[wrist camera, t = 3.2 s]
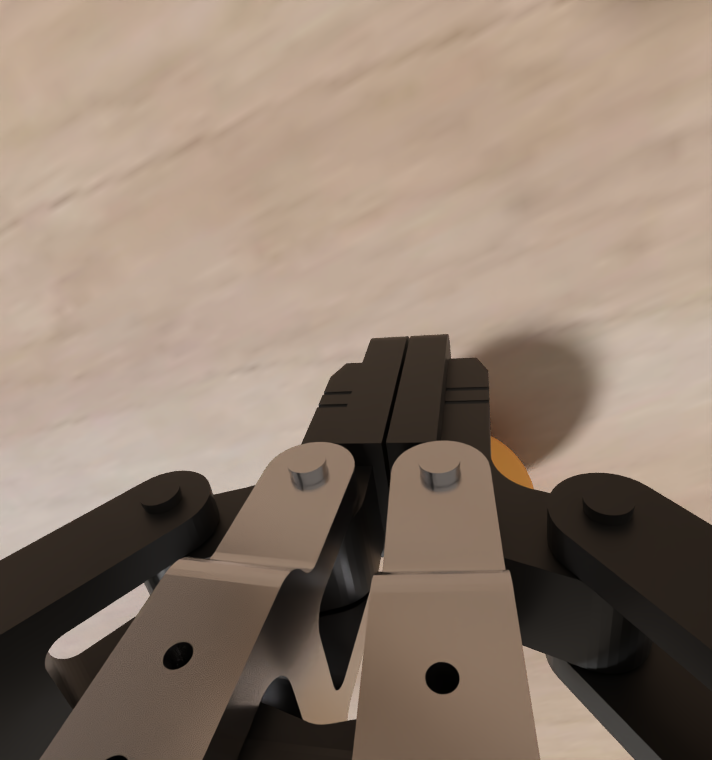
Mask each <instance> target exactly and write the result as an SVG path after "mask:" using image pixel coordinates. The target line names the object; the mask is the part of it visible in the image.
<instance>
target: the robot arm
mask: <svg viewBox="0 0 712 760" xmlns="http://www.w3.org/2000/svg"><path fill="white" fill-rule="evenodd" d="M381 557H384V560H383V570H382V572H378V570H379V565H380V560H381ZM142 583H145V586H146V588H147V590H148V592H149V594H150V597H149V598H148V600H147V601H146V603H145V604H144V606H143V607H142V608H141V610H140V611H139V613H138V614H137V616H136V617H134V618H133V619H131V620H130V621H128V622H127V623H125V624H124V625H122V626H121V627H119V628H118V629H116V630H115V631H113V632H112V633H110V634H109V635H107V636H106V637H104V638H103V639H101V640H100V641H98V642H97V643H95V644H94V645H92V646H91V647H89V648H88V649H87V650H85V651H84V652H82V653H80V654H79V655H77V656H74V657H72V658H68V659H57V658H54V657H52V656H51V655H50V654H49V652H48V651H49V649H50V648H51V646H52V645H53V644H54V642H55V641H56V640H57V639H58V638H60V637H61V636H62V635H64V634H65V633H66V632H68V631H70V630H71V629H73V628H74V627H76V626H77V625H79V624H80V623H82V622H83V621H85V620H87V619H88V618H90V617H91V616H93V615H94V614H96V613H97V612H99V611H101V610H102V609H104V608H105V607H107V606H108V605H110V604H111V603H113V602H114V601H116V600H118V599H119V598H121V597H122V596H124V595H125V594H127V593H128V592H130V591H132V590H133V589H135V588H136V587H138V586H139V585H141V584H142ZM522 645H523V646H526V647H528V648H531V649H534V650H537V651H539V652H542V653H545V654H546V658H547V660H548V663H549V665H550V667H551V668H552V670H553V672H554V673H555V674H556V675H557V677H558V678H559V679H560V680H561V681H562V682H563V683H564V684H565V685H566V686H567V687H568V689H569V690H570V691H571V692H572V693H573V694H574V695H575V696H576V697H577V698H578V699H579V700H580V701H581V702H582V704H583V705H584V706H585V707H586V708H587V709H588V710H589V711H590V712H591V713H592V714H593V715H594V716H595V718H596V719H597V720H598V721H599V722H600V723H601V724H602V725H603V726H604V727H605V728H606V729H607V730H608V731H609V733H610V734H611V735H612V736H613V737H614V738H615V739H616V740H617V741H618V742H619V743H620V744H621V745H622V746H623V748H624V749H625V750H626V751H627V752H628V753H629V754H630V755H631V756H632V757H633V758H634V759H635V760H712V525H711V524H709V523H707V522H706V521H704V520H702V519H701V518H699V517H697V516H696V515H694V514H692V513H691V512H689V511H688V510H686V509H684V508H683V507H681V506H679V505H678V504H676V503H674V502H673V501H671V500H669V499H668V498H666V497H664V496H663V495H661V494H659V493H658V492H656V491H654V490H653V489H651V488H650V487H648V486H646V485H644V484H642V483H640V482H638V481H636V480H633V479H631V478H627V477H624V476H620V475H615V474H609V473H587V474H580V475H577V476H573V477H570V478H568V479H566V480H564V481H562V482H561V483H559V484H558V485H557V486H556V487H555V488H554V489H553V490H552V492H551V493H547V492H543V491H538V490H534V489H531V488H527V487H524V486H522V485H519V484H517V483H515V482H513V481H511V480H509V479H508V478H506V477H505V476H504V475H502V474H501V473H500V472H499V471H498V470H497V468H496V467H495V465H494V464H493V462H492V459H491V432H490V406H489V381H488V370H487V369H486V368H485V367H484V366H483V365H482V363H481V362H480V361H479V360H478V359H477V358H458V359H451V352H450V341H449V335H448V334H442V335H423V336H411V337H410V338H409V337H408V336H406V337H388V338H372V339H371V341H370V343H369V346H368V349H367V352H366V354H365V357H364V360H363V363H347V364H345V365H344V366H343V367H342V368H341V369H340V370H338V371H337V372H336V373H335V374H334V375H332V376H331V378H330V380H329V382H328V384H327V387H326V389H325V391H324V395H323V396H322V398H321V400H320V403H319V408H317V409H316V412H315V414H314V416H313V419H312V421H311V423H310V425H309V428H308V430H307V432H306V435H305V437H304V439H303V441H302V444H301V445H298V446H295V447H292V448H290V449H288V450H286V451H284V452H282V453H281V454H279V455H278V456H276V457H275V458H274V459H273V460H272V461H271V462H270V463H269V464H268V466H267V467H266V469H265V470H264V472H263V474H262V475H261V477H260V478H259V480H258V482H257V483H256V485H254V486H250V487H247V488H242V489H238V490H233V491H229V492H224V493H220V494H215V495H213V493H212V490H211V487H210V484H209V482H208V480H207V479H206V478H205V477H204V476H203V475H201V474H199V473H196V472H192V471H174V472H169V473H165V474H161V475H158V476H156V477H153V478H151V479H149V480H147V481H145V482H143V483H141V484H139V485H137V486H136V487H134V488H132V489H130V490H128V491H126V492H125V493H123V494H121V495H119V496H117V497H115V498H114V499H112V500H110V501H108V502H106V503H105V504H103V505H101V506H99V507H97V508H95V509H94V510H92V511H90V512H88V513H86V514H84V515H83V516H81V517H79V518H77V519H75V520H73V521H72V522H70V523H68V524H66V525H64V526H62V527H61V528H59V529H57V530H55V531H53V532H52V533H50V534H48V535H46V536H44V537H42V538H41V539H39V540H37V541H35V542H33V543H31V544H30V545H28V546H26V547H24V548H22V549H20V550H19V551H17V552H15V553H13V554H11V555H9V556H8V557H6V558H4V559H2V560H0V760H540V755H539V748H538V742H537V736H536V729H535V723H534V717H533V710H532V704H531V698H530V691H529V685H528V679H527V672H526V666H525V660H524V653H523V647H522ZM363 652H364V654H363ZM362 656H363V663H362V672H361V682H360V691H359V701H358V710H357V719H355V720H349V721H347V718H348V710H349V705H350V700H351V697H352V693H353V689H354V685H355V682H356V678H357V674H358V671H359V667H360V663H361V660H362Z"/></svg>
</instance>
